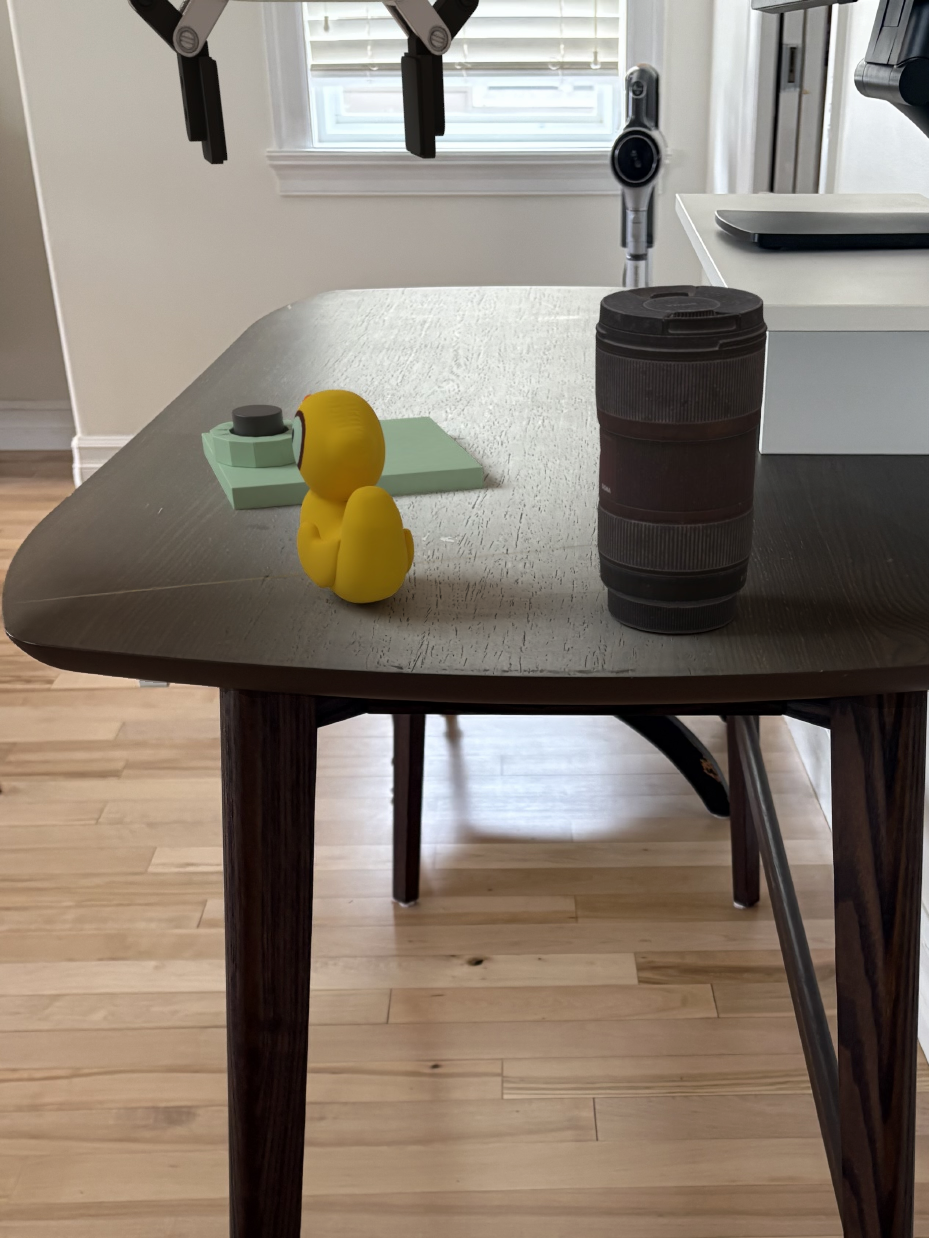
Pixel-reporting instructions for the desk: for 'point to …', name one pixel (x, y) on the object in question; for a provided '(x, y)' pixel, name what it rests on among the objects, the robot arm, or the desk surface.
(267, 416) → the button
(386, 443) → the scale
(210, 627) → the desk surface
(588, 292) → the desk surface
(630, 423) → the camera lens
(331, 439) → the duckling
